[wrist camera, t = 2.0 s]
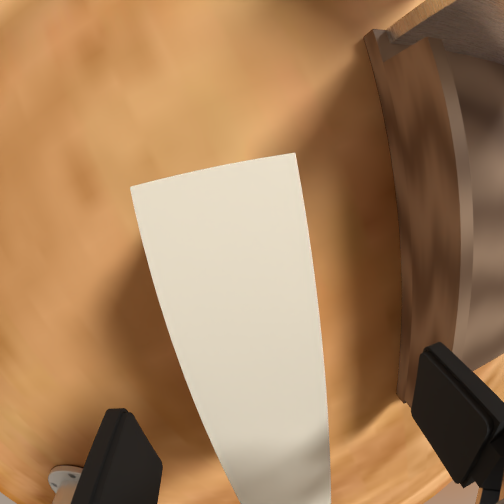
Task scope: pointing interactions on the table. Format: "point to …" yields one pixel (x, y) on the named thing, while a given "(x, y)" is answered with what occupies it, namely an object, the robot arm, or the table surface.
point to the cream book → (245, 320)
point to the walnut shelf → (445, 197)
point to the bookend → (456, 27)
